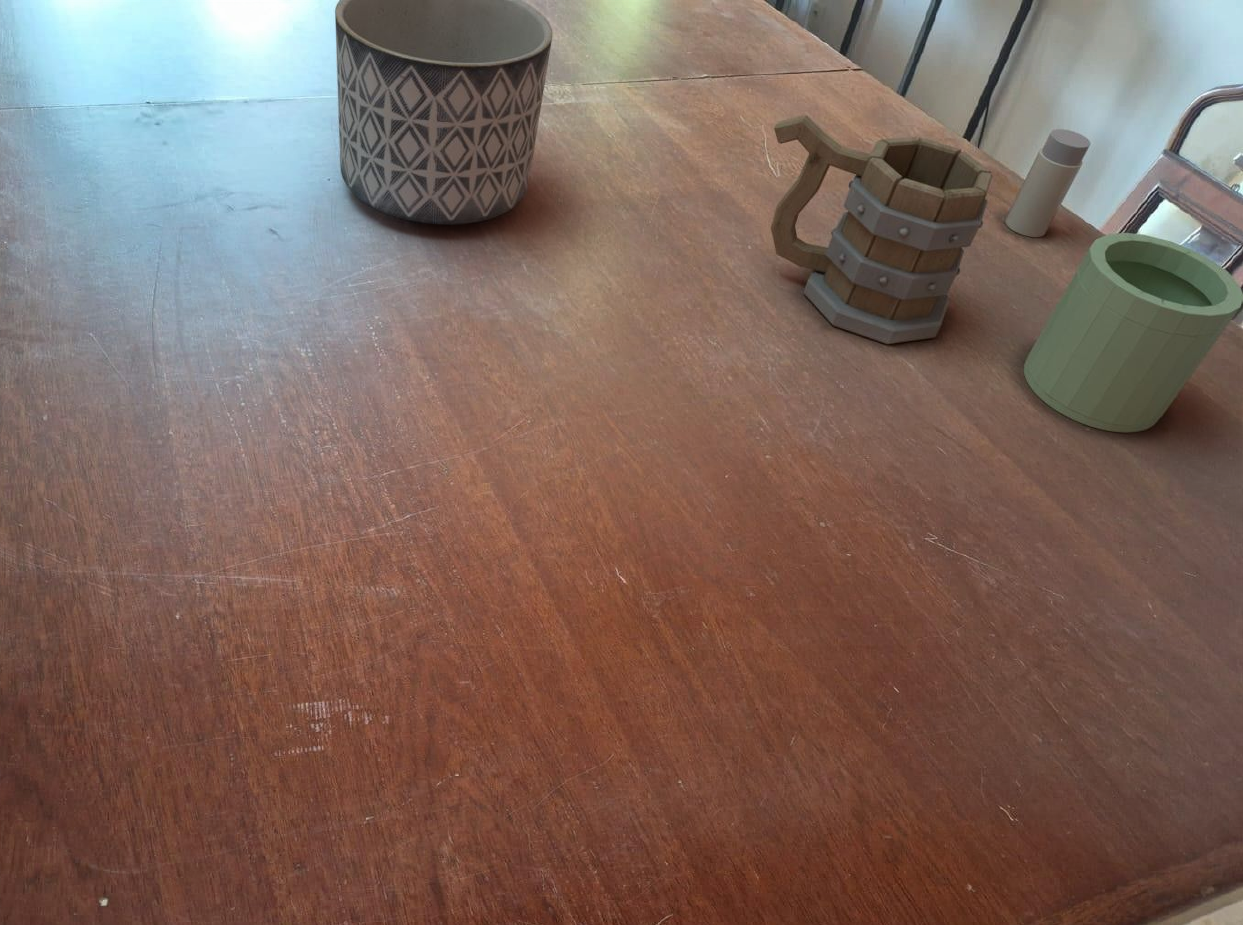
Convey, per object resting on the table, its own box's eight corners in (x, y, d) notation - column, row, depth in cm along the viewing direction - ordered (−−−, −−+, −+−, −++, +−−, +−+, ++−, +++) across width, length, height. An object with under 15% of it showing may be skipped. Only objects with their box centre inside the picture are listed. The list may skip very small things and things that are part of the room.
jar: (1127, 355, 99) (1202, 240, 91) (1183, 438, 91) (1271, 321, 82) (1005, 342, 98) (1069, 226, 90) (1050, 426, 90) (1125, 306, 81)
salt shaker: (1037, 218, 117) (1083, 130, 109) (1051, 239, 114) (1099, 150, 106) (999, 214, 116) (1042, 125, 109) (1012, 234, 113) (1057, 145, 106)
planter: (500, 261, 98) (521, 83, 86) (305, 212, 100) (300, 32, 88) (549, 170, 111) (573, 5, 99) (376, 129, 113) (379, -37, 101)
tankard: (948, 293, 103) (1019, 146, 92) (928, 359, 95) (1002, 206, 84) (754, 230, 107) (799, 82, 97) (717, 287, 99) (763, 133, 88)
